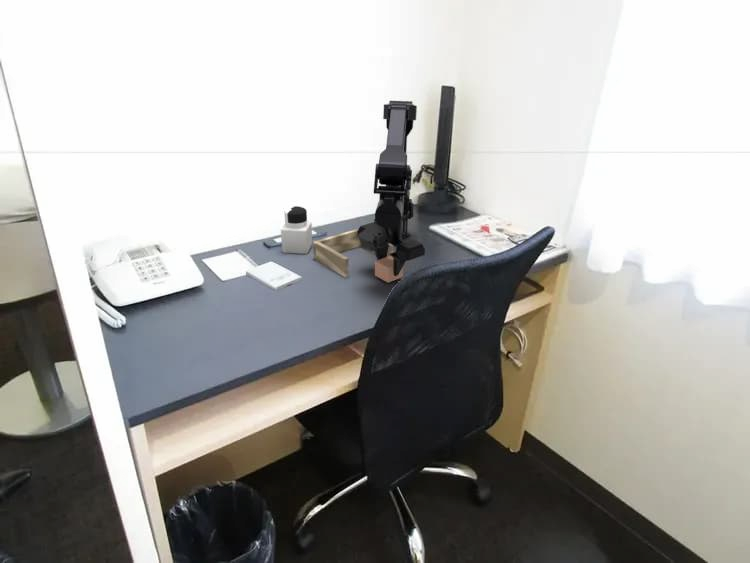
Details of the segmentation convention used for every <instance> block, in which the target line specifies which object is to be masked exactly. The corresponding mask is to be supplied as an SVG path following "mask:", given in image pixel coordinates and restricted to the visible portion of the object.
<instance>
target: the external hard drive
mask: <svg viewBox="0 0 750 563" xmlns="http://www.w3.org/2000/svg"><path fill="white" fill-rule="evenodd" d="M245 275H246V276H248V277H250V278H252V279H254V280H255V281H258V282H259V283H261V284H263V285H265V286H266V287H267V288H268V287H269V288H270V289H271V290H273V291H275V292H277V291H279V290H281V289H284V288H286V287H287V286H289V285H293V284H295V283H298V282H300V281H303V277H302V276H300V275H299V274H297V273H295V272H293V271H291V270H289V269H287V268H285V267H283V266H282V265H280V264H277V263H275V262H273V261H269V262H266V263H263V264H261V265H257V266H254V267H252V268H250V269H247V270H246V271H245Z"/></svg>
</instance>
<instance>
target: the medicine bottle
mask: <svg viewBox="0 0 750 563" xmlns="http://www.w3.org/2000/svg"><path fill="white" fill-rule="evenodd" d="M307 211H308V210H307V209H306V208H304V206H303V207H302V206H295V205H294V206H289V207H287V208H285V210H284V224H283V226H282V227H281V229H280V235H281V236H280V237H281V251H282V253H284V254H301V255H308V253H309V251H310V249H311V248H312V247H313V228H312V227H313V225H312V221H308V213H307Z"/></svg>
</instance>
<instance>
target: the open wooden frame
mask: <svg viewBox="0 0 750 563" xmlns="http://www.w3.org/2000/svg"><path fill="white" fill-rule="evenodd" d="M358 229H359V228H356V229H352V230H349V231H346V232H342V233H338V234H336V235H331V236H328V237H324V238H322V239H318V240H314V241H312V248H313V250H312V251H313V259H314V260H315V261H317V262H319V263H320V264H321V265H324V266H325V267H327V268H329V269H331V270H332V271H334V272H335V273H338V274H339V275H340V276H342V277H343V278H347V277H349V274H350V272H349V271H350V270H349V269H350V268H349V266H350V264H349V257H347V256H345V255H343V254H341V253H343V252H346V251H349V250H353V249H356V248H359V247H361V248H362V249H365V250H366V251H369V250H368V249H366V248H363V247H362V246H361V243H360V240H359V237H358ZM369 252H370V253H373V254H375V252H374V251H369ZM391 253H394V246H391V245H389V248H388V253H387V257H388V256H391V255H390V254H391ZM375 255H376V254H375ZM391 257H392V256H391Z"/></svg>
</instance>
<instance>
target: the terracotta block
mask: <svg viewBox="0 0 750 563" xmlns="http://www.w3.org/2000/svg"><path fill="white" fill-rule="evenodd" d="M403 273H404V267H403V268H402V269H401V271H400V273H399V274H398V275H397V276H394V264H393V257H391V256H388V257H385V258H383V259H380V260H377V259H376V260H375V261H374V276H375V277H377V278H379V279H380V280H382V281H384V282H386V283H391V282H394V281H395V280H398V279H401V278H403V277H404V274H403Z"/></svg>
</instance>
